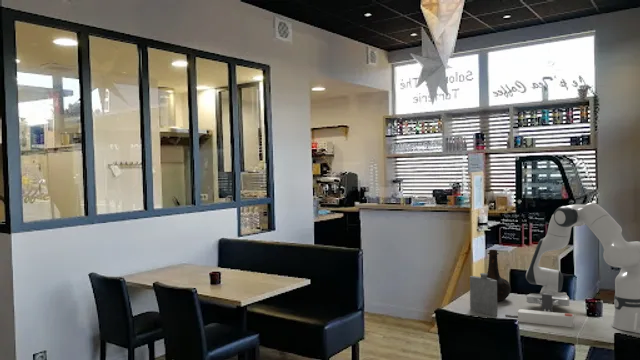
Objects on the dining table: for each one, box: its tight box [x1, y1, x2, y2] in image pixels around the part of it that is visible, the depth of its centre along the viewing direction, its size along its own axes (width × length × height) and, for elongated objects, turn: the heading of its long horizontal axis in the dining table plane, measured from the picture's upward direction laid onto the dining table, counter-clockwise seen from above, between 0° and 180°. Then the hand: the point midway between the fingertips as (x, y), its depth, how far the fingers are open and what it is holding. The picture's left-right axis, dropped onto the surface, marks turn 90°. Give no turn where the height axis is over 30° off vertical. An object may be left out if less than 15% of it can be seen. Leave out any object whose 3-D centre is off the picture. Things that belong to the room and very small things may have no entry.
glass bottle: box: [486, 249, 512, 302], centre depth 296 cm, size 18×18×28 cm
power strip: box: [505, 308, 575, 328], centre depth 250 cm, size 6×30×5 cm, turn 64°
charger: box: [541, 292, 553, 312], centre depth 263 cm, size 7×4×10 cm, turn 154°
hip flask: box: [469, 272, 498, 317], centre depth 269 cm, size 16×4×20 cm, turn 35°
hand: (547, 303), depth 263 cm, fingers open, 5 cm apart
